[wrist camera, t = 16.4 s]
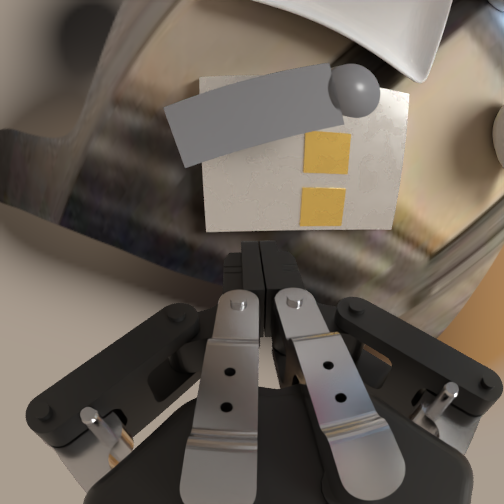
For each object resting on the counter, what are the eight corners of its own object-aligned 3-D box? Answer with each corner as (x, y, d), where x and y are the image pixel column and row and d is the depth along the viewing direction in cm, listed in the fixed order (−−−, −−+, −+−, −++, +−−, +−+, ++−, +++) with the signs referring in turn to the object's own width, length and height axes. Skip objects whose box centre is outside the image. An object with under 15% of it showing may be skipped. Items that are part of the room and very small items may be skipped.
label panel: (401, 91, 24) (419, 93, 21) (385, 223, 31) (398, 236, 29) (201, 76, 23) (196, 73, 20) (207, 225, 30) (204, 240, 28)
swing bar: (359, 60, 19) (372, 57, 17) (372, 114, 22) (385, 117, 20) (170, 106, 21) (163, 107, 19) (189, 161, 23) (185, 168, 21)
